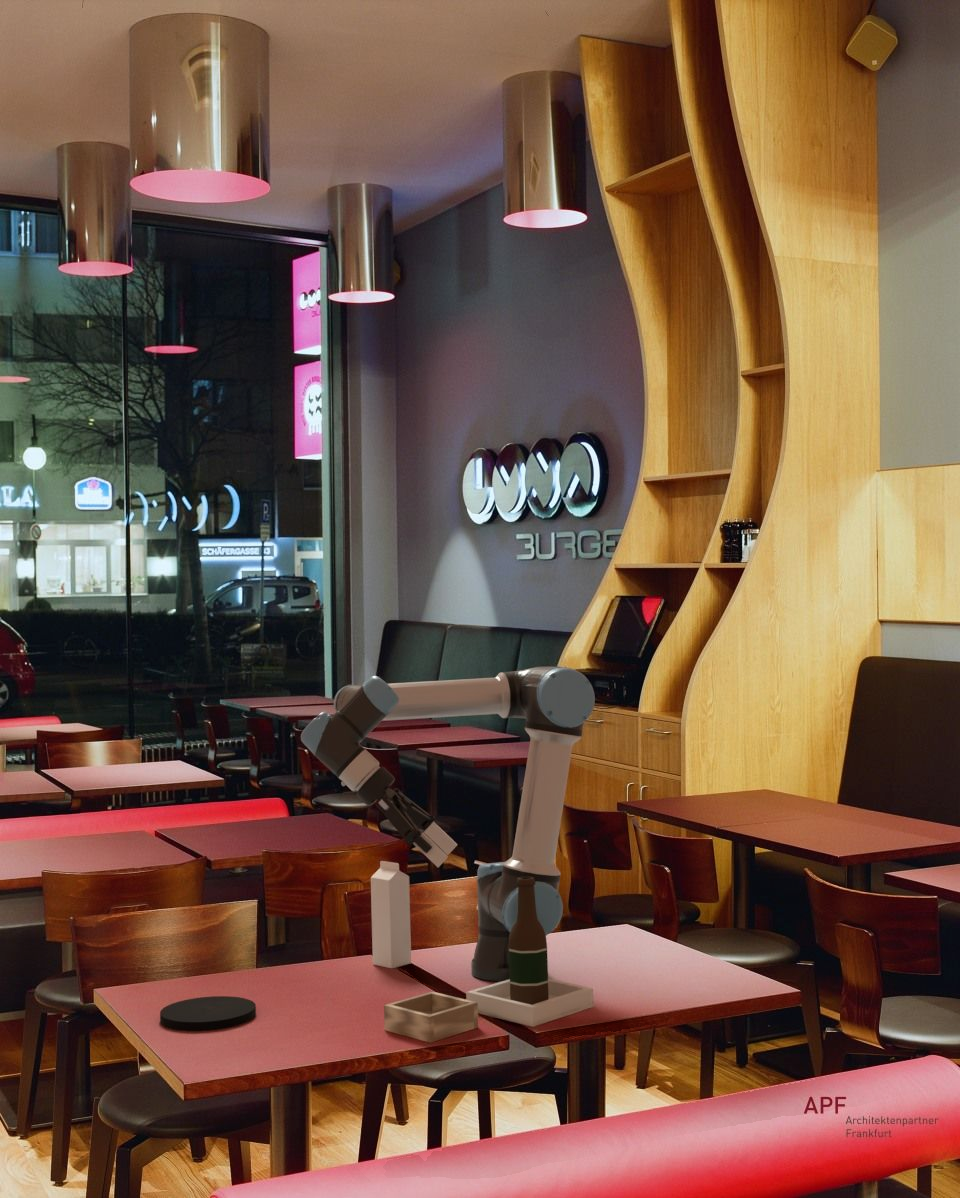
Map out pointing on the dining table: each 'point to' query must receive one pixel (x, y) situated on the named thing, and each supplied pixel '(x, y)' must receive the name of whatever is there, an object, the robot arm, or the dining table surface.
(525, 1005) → the tray
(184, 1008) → the wireless charger
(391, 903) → the milk
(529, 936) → the beer bottle
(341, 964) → the dining table surface
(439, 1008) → the box
